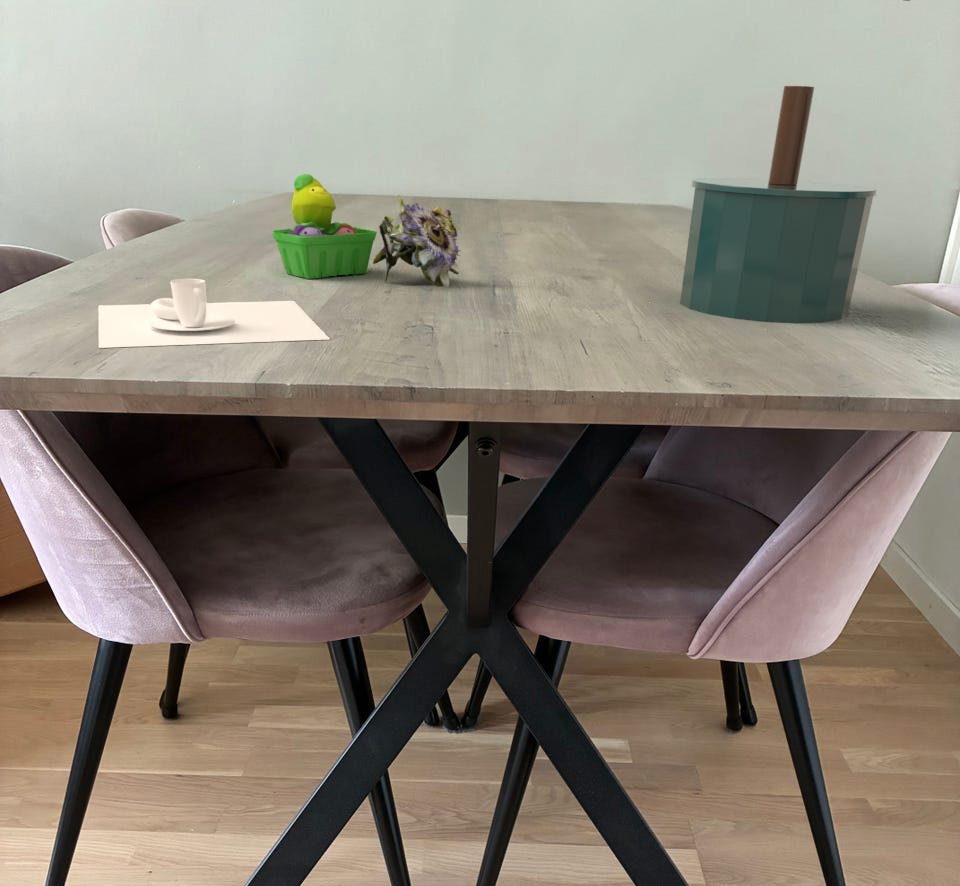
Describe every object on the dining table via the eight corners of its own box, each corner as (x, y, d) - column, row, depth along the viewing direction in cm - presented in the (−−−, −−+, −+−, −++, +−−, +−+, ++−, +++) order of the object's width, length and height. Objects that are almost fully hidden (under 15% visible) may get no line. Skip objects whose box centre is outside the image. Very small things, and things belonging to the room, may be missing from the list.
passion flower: (441, 334, 117) (440, 258, 106) (359, 310, 118) (350, 232, 108) (471, 270, 122) (474, 191, 111) (392, 247, 123) (386, 167, 112)
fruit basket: (305, 281, 115) (299, 178, 110) (266, 272, 121) (259, 173, 116) (380, 274, 122) (379, 177, 117) (340, 265, 128) (337, 172, 122)
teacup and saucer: (145, 318, 93) (139, 273, 91) (229, 316, 95) (225, 272, 93) (149, 337, 85) (143, 289, 83) (239, 334, 88) (235, 287, 86)
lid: (823, 192, 111) (843, 91, 106) (909, 206, 95) (936, 88, 90) (667, 187, 109) (679, 84, 104) (727, 202, 92) (745, 80, 87)
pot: (802, 298, 117) (823, 186, 111) (876, 329, 101) (906, 199, 95) (659, 297, 114) (673, 182, 108) (712, 328, 98) (732, 195, 92)
